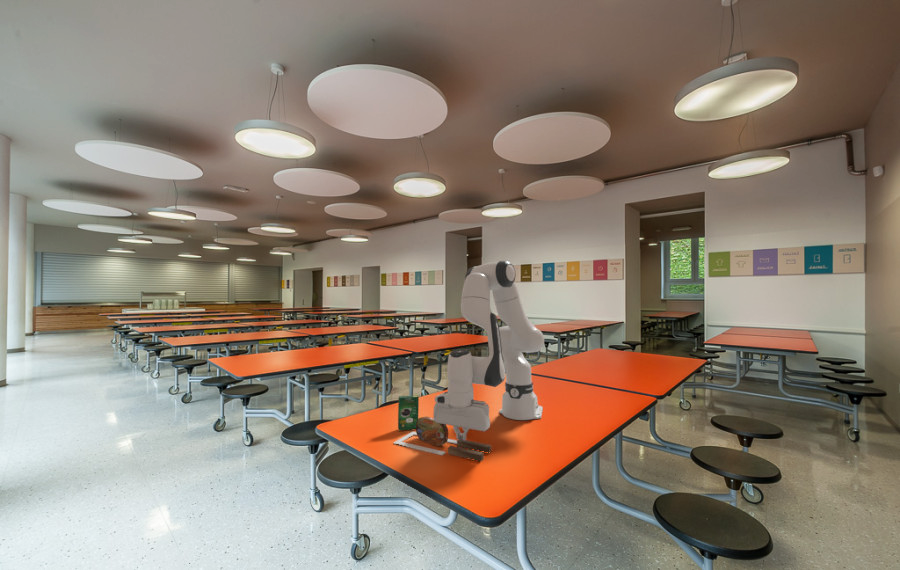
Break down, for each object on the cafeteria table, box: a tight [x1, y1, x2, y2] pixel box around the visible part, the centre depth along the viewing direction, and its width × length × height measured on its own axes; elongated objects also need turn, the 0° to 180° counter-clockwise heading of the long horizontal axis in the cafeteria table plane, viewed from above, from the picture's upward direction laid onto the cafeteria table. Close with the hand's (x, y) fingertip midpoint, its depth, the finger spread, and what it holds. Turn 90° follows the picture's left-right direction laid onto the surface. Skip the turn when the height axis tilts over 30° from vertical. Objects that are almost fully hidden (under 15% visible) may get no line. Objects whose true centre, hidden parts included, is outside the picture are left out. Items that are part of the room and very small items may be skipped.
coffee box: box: [397, 394, 420, 431], centre depth 138 cm, size 8×3×13 cm, turn 104°
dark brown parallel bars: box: [447, 439, 492, 462], centre depth 115 cm, size 8×12×2 cm
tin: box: [415, 416, 449, 447], centre depth 124 cm, size 15×3×8 cm, turn 47°
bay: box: [393, 431, 457, 456], centre depth 124 cm, size 12×20×1 cm, turn 61°
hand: (461, 439), depth 117 cm, fingers closed
